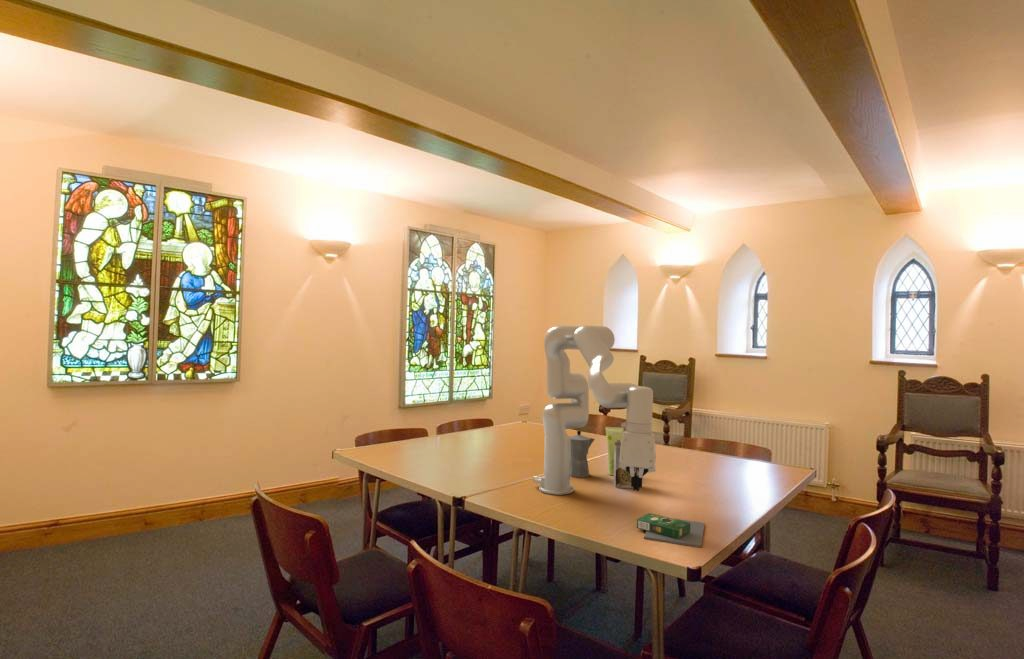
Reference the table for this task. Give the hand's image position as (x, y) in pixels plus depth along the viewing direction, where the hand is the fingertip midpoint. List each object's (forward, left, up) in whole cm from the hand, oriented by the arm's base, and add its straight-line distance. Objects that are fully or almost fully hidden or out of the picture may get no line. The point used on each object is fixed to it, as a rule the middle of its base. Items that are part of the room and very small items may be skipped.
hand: (636, 489), depth 163 cm
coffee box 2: (+2, -1, -9) cm, 9 cm away
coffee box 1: (-11, +44, -11) cm, 46 cm away
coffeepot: (-33, +52, -11) cm, 62 cm away
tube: (-19, +60, -11) cm, 63 cm away
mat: (+11, 0, -11) cm, 16 cm away
